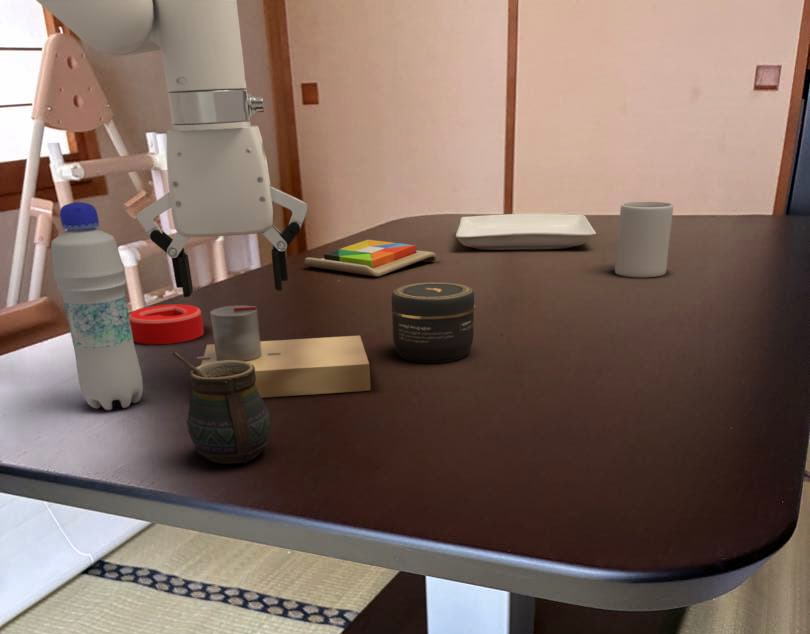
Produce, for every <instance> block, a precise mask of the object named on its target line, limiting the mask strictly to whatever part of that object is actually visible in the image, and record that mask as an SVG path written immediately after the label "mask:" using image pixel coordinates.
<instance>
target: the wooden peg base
mask: <svg viewBox="0 0 810 634" xmlns="http://www.w3.org/2000/svg"><path fill="white" fill-rule="evenodd" d="M260 343H261V352H262V354H261V356H260V357H258V358H256V359H253V360H249V361H243V362H247V363H250V364H252V365H253V366H254V367H255V376H256V382H255V384H256V387H257V390H258V392H259V395H260V396H261V398H262V399H264V398H279V397H280V398H281V397H292V396H293V397H294V396H309V395H310V396H311V395H323V394H324V395H326V394H327V395H328V394H338V393H339V394H340V393H355V392H368V391H370V392H371V371H370V369H371V368H370V361H369V359H368V356H367V352H366V349H365V347H364V343H363V341H362V337H361V335H343V336H330V337H329V336H328V337H312V338H311V337H309V338H295V339H282V340H281V339H279V340H264V341H263V340H260ZM196 360H202V361H201V363H200V365H203V364H206V363H210V362H216V361H220V360H218V359H217V358H216V352H215V344H214V343H209V344H206V348H205V350H204V353H203V356H196Z"/></svg>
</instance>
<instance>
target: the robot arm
mask: <svg viewBox="0 0 810 634" xmlns="http://www.w3.org/2000/svg"><path fill="white" fill-rule="evenodd" d="M35 1H36V2H37V3H38V4H39V5H41V6H42V7H43V8H44V9H46V10H47V11H48V12H49V13H50V14H51V15H53V16H54V17H55V18H56V19H57V20H59V21H60V22H61V23H62V24H63V25H64V26H66V28H67V29H69V30H70V31H72V32H73V33H74V34H75V35H76V36H77V37H78V38H79V39H80V40H82V42H85V43H86V44H88V45H89V46H90V47H91V48H93V49H94V50H96V51H98V52H99V53H101V54H103V55H105V56H110V57H118V58H119V57H129V56H135V55H141V54H144V53H151V52H155V51H160V52H161V58H162V65H163V72H164V78H165V85H166V91H167V92H166V93H167V97H168V98H167V99H168V103H169V104H168V105H169V112H170V118H171V124H172V129H168V130H166V169H167V181H168V192H167V193H166V194H164V195H163V196H161V197H160V198H158V199H157V200H155V201H154V202H152V203H151V204H149V205H148V206H146V207H144V208H143V209H142V210H140V211H139V212H138V213H137V214H136V219H137V222H139V224H140V225H141V227H142V228H143V230H144V231H145V233H147V235H148V237H149V238H150V240H151V241H152V242H153V243H154V244H155V245H156V246H157V247H159V248H160V249H161V250H162V251H164V252H165V253H166V254H167V256H168V257H169V258H171V262H172V269H173V275H174V282H175V286H176V289H181V288H182V294H183V295H182V296H183V297H184V298H189V297H190V296H192V294H193V291H194V287H193V286H194V285H193V279H192V274H191V267H190V261H189V255H188V254H187V253H186V252H185V248H184V247H185V245H187V243H188V241H189V239H190V238H208V237H209V238H210V237H212V238H213V237H226V236H227V237H230V236H245V235H254V234H255V235H256V234H261V235H262V236H263V237H265V239H266V240H267V241H268V242H270V244H271V245H272V249H271V261H272V263H271V264H272V271H273V280H274V288H275V290H277V292H279V291H280V292H281V291H283V282H287V281H289V276H288V266H287V256H286V255H287V254H286V250H287V249H288V247H289V245H290V244H291V243H292V242H293V241H294V239H296V237H297V236H298V234H299V233H300V231H301V228H302V226H303V224H304V221H305V218H306V216H307V213H308V211H309V206H308V203H306V202H305V201H304V200H301V199H299V198H297V197H295V196H293V195H291V194H288V193H287V192H284V191H282V190H280V189H278V188H276V187H274V186H272V184H271V179H270V172H269V167H268V166H269V165H268V160H267V155H266V150H265V145H264V142H263V141H264V140H263V137H262V133H261V131H260V128H259V125H251V124H252V123H251V117H253V116H254V115H257V113H264V111H265V110H264V101H263V96H255V95H251V93H248V90H247V81H246V73H245V63H244V55H243V46H242V38H241V29H240V20H239V19H240V17H239V11H238V2H237V1H238V0H35ZM274 203H275V204H277V205H278V206H281V207H283V208H285V209H288V210H289V211H291V217H290V220H289V223H288V224H287V225H286V226H285V227H284V229H282V231H280V230H279V228H277V227H276V226H275V225H274V224H273V223H274V220H275V211H274V210H275V209H274ZM169 209H170V210H171V216H172V217H171V218H172V222H173V226H174V229H175V231H176V234H175V236H174V238H173V237H171V236H170V235H168V234H167V233H166V232H165V231H163V230H162V229H161V228H160V225H159V224H158V223H157V221H156V219H157V217H158V216H160V215H162V214H163V213H165V212H166V211H168V210H169Z"/></svg>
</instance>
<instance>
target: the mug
mask: <svg viewBox="0 0 810 634" xmlns="http://www.w3.org/2000/svg"><path fill="white" fill-rule="evenodd" d="M619 210H620V211H619V212H620V213H619V222H618V233H617V245H616V256H615V265H614V273H615V274H616V275H618V276H621V277H627V278H637V279H638V278H640V279H641V278H642V279H643V278H644V279H645V278H646V279H647V278H648V279H649V278H657V277H662V276H664V275H666V273H667V268H668V258H669V257H668V256H669V247H670V241H671V240H670V238H671V229H672V222H673V214H674V204H672V203H671V202H664V201H663V202H662V201H631V202H625V203H622V204H621V205H620V209H619Z"/></svg>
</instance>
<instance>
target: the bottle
mask: <svg viewBox="0 0 810 634" xmlns="http://www.w3.org/2000/svg"><path fill="white" fill-rule="evenodd" d="M59 216H60V217H59V218H60V221H61V225H62V228H63V230H65V231H63V232H62V233H60V234H58V236H56V237H55V238H53V239H52V240H51V243H50V246H51V257H52V269H53V272H52V273H53V278H54V280H55V281H56V289H57V290H58V291H59V293H60V294H61V296H62V301H63V305H64V309H65V315H66V319H67V323H68V328H69V332H70V336H71V341H72V346H73V350H74V356H75V364H76V372H77V376H78V384H79V387H80V391H81V392H82V395H83V397H84V399H85V401H86V403H87V404H88V405H89V406H90V407H91V408H93V409H100V408H101V407H102V408H103V409H104V410H106V411H111V410H113V401H119V403H120V406H121V408H123V409H126V408H128V407H129V406H130V405H131V403H132V404H137V403H139V402H140V400H141V398H142V397H143V390H144V388H143V387H144V384H143V375H142V371H141V366H140V362H139V359H138V355H137V351H136V347H135V341H133V336H132V330H131V325H130V319H129V315H130V313H129V309H128V303H127V297H126V294H125V289H126V288H125V287H126V284H127V280H126V278H125V271H126V270H125V266H124V263H123V261H122V258H121V254H120V251H119V247H118V245H117V241H116V239H115V237H114V236H113V235H112V234H109V233H107V232H105V231H103V230H101V229H98V228H99V227H100V223H99V222H100V221H99V216H98V212H97V209H96V207H95V206H94V205H93V204H90V203H87V202H80V201H79V202H78V201H75V202H70V203H67V204H64V205H63V206H62V207H61V208H60V210H59Z"/></svg>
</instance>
